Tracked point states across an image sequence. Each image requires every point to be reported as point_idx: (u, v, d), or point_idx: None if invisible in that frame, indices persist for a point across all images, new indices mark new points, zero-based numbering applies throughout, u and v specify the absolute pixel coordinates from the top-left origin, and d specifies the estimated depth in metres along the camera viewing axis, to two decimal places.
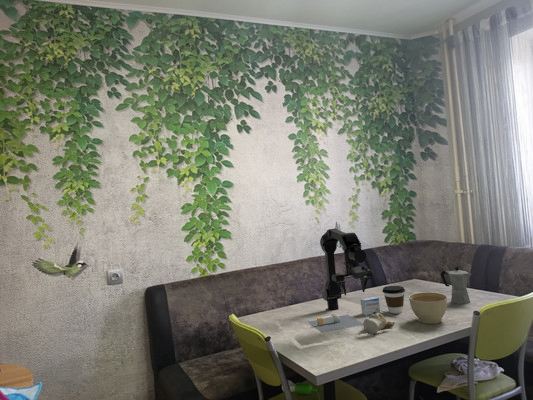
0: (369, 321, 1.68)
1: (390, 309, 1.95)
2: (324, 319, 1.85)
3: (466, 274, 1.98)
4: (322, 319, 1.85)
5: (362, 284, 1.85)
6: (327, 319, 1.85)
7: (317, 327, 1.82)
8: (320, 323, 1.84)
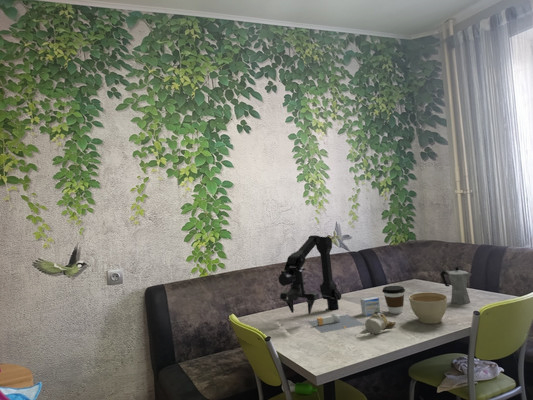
0: (371, 321, 1.68)
1: (390, 309, 1.95)
2: (324, 319, 1.85)
3: (466, 274, 1.98)
4: (322, 319, 1.85)
5: None
6: (327, 319, 1.85)
7: (317, 327, 1.82)
8: (320, 323, 1.84)
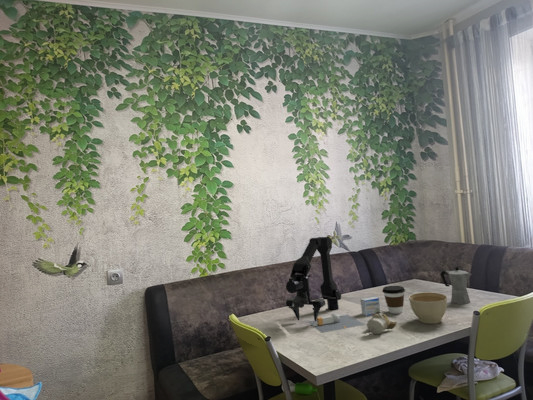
0: (374, 321, 1.67)
1: (390, 309, 1.95)
2: (324, 319, 1.85)
3: (466, 274, 1.98)
4: (322, 319, 1.85)
5: None
6: (327, 319, 1.85)
7: (317, 327, 1.82)
8: (320, 323, 1.84)
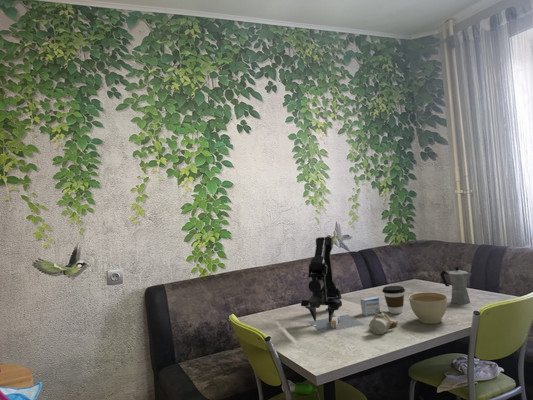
0: (377, 321, 1.67)
1: (390, 309, 1.95)
2: (336, 321, 1.81)
3: (466, 274, 1.99)
4: (336, 321, 1.80)
5: None
6: (336, 320, 1.83)
7: (317, 327, 1.82)
8: (336, 325, 1.79)
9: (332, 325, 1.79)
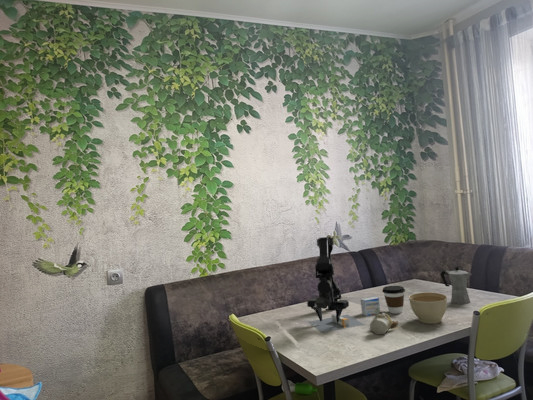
0: (378, 321, 1.67)
1: (390, 309, 1.95)
2: None
3: (466, 274, 1.99)
4: None
5: None
6: None
7: (317, 327, 1.82)
8: None
9: (345, 324, 1.79)
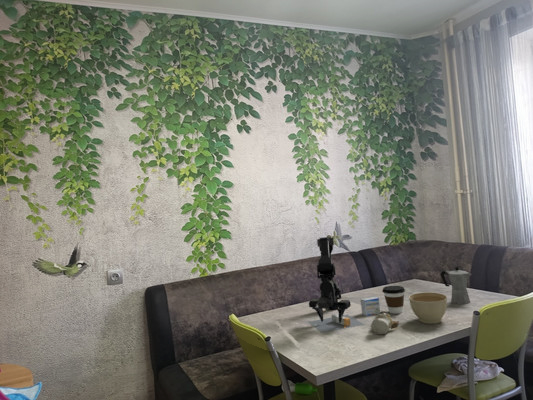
0: (380, 321, 1.66)
1: (390, 309, 1.95)
2: None
3: (466, 274, 1.99)
4: None
5: None
6: None
7: (317, 327, 1.82)
8: None
9: (347, 323, 1.79)
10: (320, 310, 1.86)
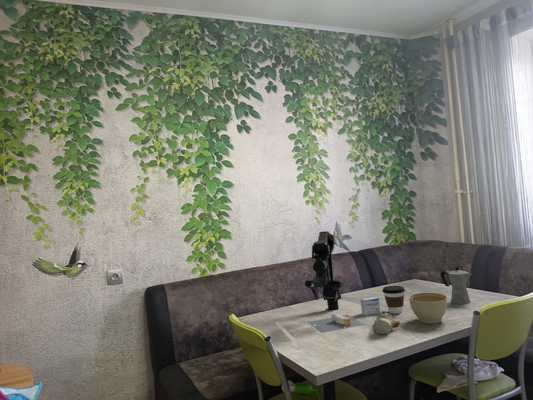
0: (382, 321, 1.66)
1: (390, 309, 1.95)
2: None
3: (466, 274, 1.98)
4: None
5: None
6: None
7: (317, 327, 1.82)
8: None
9: (347, 323, 1.79)
10: (315, 289, 1.93)
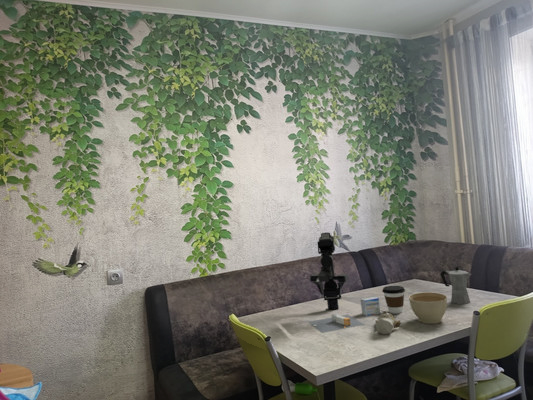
0: (384, 321, 1.66)
1: (390, 309, 1.95)
2: None
3: (466, 274, 1.98)
4: None
5: None
6: None
7: (317, 327, 1.82)
8: None
9: (347, 323, 1.79)
10: (320, 284, 1.98)
